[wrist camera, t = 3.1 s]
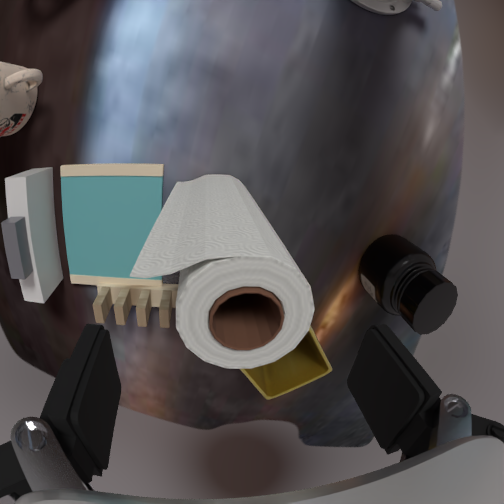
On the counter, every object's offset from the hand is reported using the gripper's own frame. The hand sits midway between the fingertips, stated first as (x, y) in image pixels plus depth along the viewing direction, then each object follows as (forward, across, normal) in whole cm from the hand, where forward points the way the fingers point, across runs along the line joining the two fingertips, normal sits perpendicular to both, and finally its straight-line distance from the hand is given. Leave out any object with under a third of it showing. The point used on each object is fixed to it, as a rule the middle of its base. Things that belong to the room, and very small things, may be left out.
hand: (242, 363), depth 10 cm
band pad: (+24, +12, +3) cm, 27 cm away
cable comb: (+24, +9, +11) cm, 28 cm away
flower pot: (+24, -8, +15) cm, 30 cm away
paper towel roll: (+24, 0, -1) cm, 24 cm away
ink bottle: (+24, -23, +6) cm, 34 cm away
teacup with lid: (+24, +25, -13) cm, 37 cm away
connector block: (+24, +21, +3) cm, 32 cm away
